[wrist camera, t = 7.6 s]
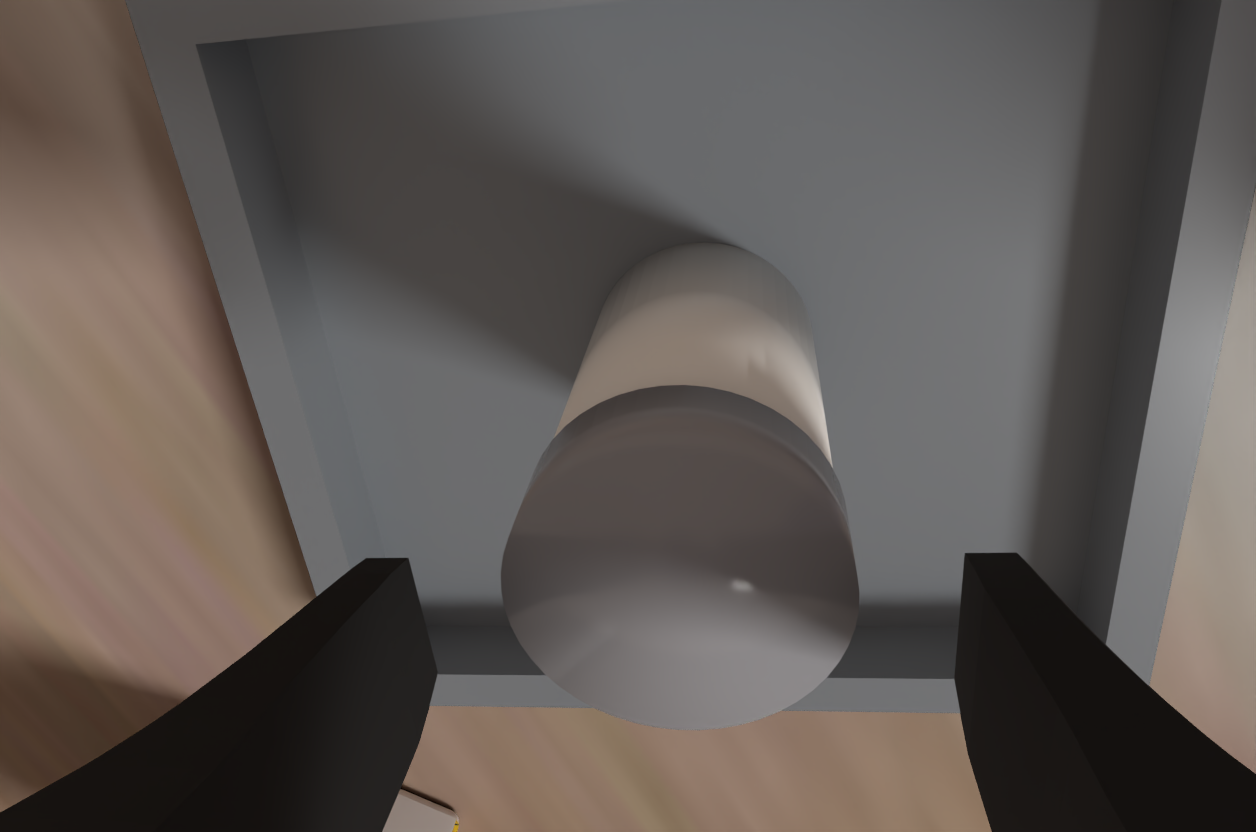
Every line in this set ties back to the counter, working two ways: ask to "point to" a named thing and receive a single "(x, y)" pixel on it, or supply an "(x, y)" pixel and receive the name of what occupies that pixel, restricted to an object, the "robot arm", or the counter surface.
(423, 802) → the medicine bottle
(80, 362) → the counter surface
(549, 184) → the tray
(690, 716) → the shaker
